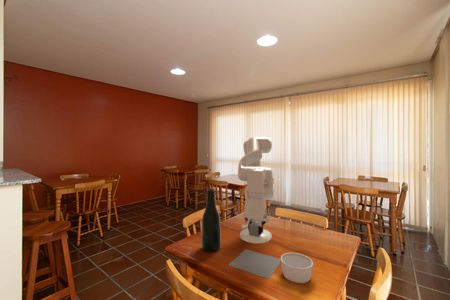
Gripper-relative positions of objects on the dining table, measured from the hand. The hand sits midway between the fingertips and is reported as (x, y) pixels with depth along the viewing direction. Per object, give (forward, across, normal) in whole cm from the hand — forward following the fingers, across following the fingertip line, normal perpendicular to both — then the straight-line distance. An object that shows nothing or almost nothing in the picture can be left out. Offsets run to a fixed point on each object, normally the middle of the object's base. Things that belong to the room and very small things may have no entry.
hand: (255, 232), depth 103 cm
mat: (+15, 0, -1) cm, 15 cm away
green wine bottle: (+15, -27, 0) cm, 31 cm away
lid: (+2, 0, 0) cm, 2 cm away
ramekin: (+15, +19, -1) cm, 24 cm away
